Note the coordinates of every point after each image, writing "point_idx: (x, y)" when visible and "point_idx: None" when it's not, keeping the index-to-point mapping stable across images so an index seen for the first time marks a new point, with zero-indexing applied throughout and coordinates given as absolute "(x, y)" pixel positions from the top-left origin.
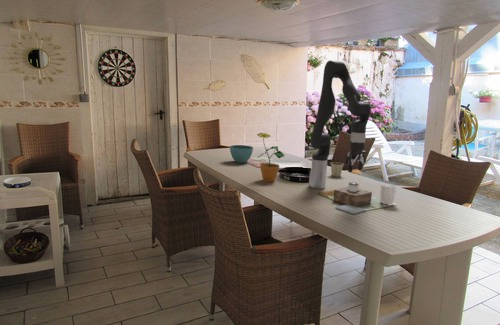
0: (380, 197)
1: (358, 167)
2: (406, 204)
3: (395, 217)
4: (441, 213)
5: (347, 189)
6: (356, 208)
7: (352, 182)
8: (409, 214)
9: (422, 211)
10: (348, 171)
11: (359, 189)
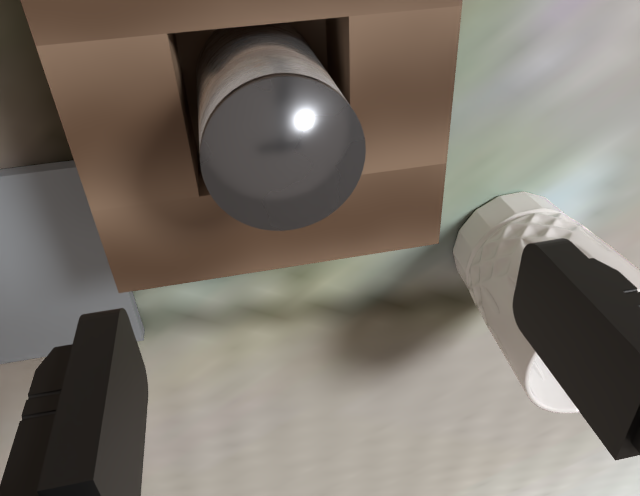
0: (489, 244)
1: (564, 291)
2: None
3: (253, 450)
4: (561, 453)
5: (244, 16)
6: (78, 293)
7: (329, 94)
8: (389, 433)
9: (516, 415)
10: (86, 324)
11: (417, 97)
